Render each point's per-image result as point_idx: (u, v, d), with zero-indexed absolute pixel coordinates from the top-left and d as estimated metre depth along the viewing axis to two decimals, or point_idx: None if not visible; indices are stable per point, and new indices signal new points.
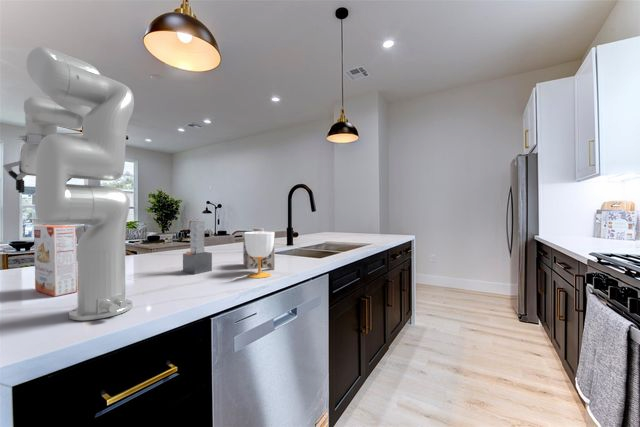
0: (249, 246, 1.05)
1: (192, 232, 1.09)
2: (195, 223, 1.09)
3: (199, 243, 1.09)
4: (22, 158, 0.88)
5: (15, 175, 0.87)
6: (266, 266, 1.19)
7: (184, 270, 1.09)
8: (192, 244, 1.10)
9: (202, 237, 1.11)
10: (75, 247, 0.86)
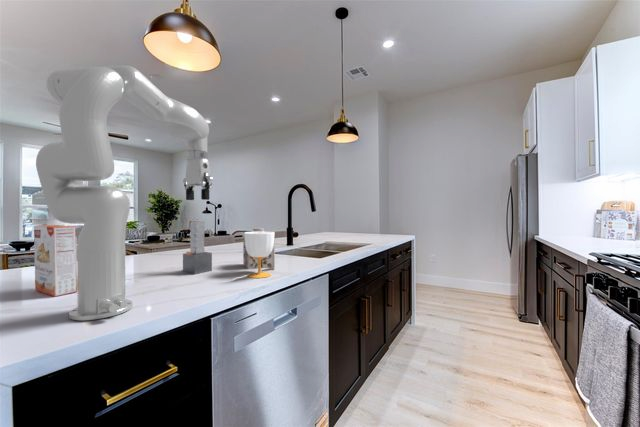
0: (249, 246, 1.05)
1: (192, 232, 1.09)
2: (195, 223, 1.09)
3: (199, 243, 1.09)
4: (209, 172, 1.10)
5: None
6: (266, 266, 1.19)
7: (184, 270, 1.09)
8: (192, 244, 1.10)
9: (202, 237, 1.11)
10: (75, 247, 0.86)
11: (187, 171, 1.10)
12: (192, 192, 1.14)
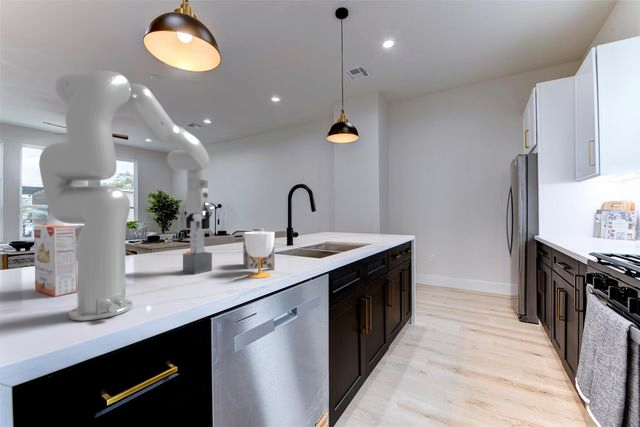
0: (249, 246, 1.05)
1: (192, 232, 1.09)
2: (195, 223, 1.09)
3: (199, 243, 1.09)
4: (209, 201, 1.10)
5: None
6: (266, 266, 1.19)
7: (184, 270, 1.09)
8: (192, 244, 1.10)
9: (202, 237, 1.11)
10: (75, 247, 0.86)
11: (187, 200, 1.10)
12: (192, 220, 1.14)
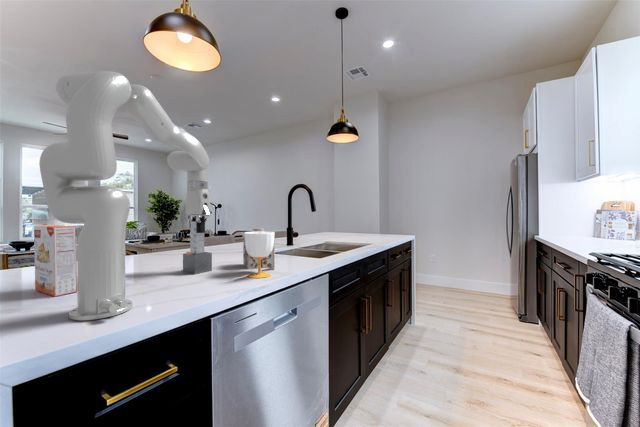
0: (249, 246, 1.05)
1: (192, 233, 1.09)
2: (195, 223, 1.09)
3: (199, 243, 1.09)
4: (209, 202, 1.10)
5: None
6: (266, 266, 1.19)
7: (184, 270, 1.09)
8: (192, 244, 1.10)
9: (202, 237, 1.11)
10: (75, 247, 0.86)
11: (187, 201, 1.10)
12: None
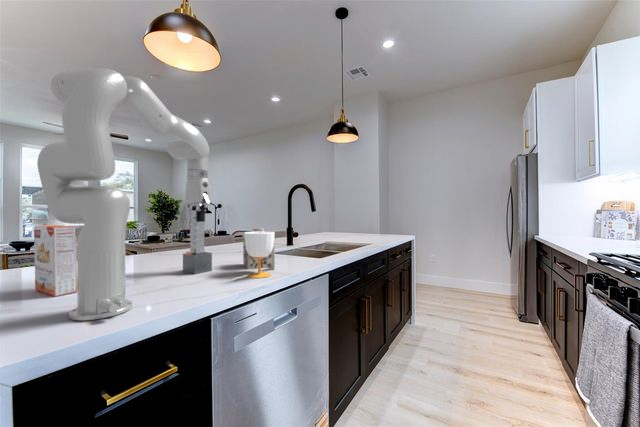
0: (249, 246, 1.05)
1: (192, 221, 1.09)
2: (195, 212, 1.08)
3: (199, 232, 1.09)
4: (209, 191, 1.10)
5: None
6: (266, 266, 1.19)
7: (184, 270, 1.09)
8: (192, 233, 1.09)
9: (202, 226, 1.11)
10: (75, 247, 0.86)
11: (187, 190, 1.10)
12: None
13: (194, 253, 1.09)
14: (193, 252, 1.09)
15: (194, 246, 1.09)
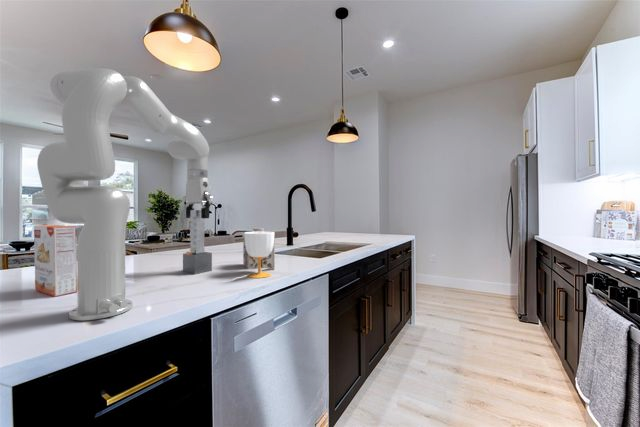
0: (249, 246, 1.05)
1: (192, 221, 1.09)
2: (195, 212, 1.08)
3: (199, 232, 1.09)
4: (209, 190, 1.10)
5: None
6: (266, 266, 1.19)
7: (184, 270, 1.09)
8: (192, 233, 1.09)
9: (202, 226, 1.11)
10: (75, 247, 0.86)
11: (187, 189, 1.10)
12: None
13: (194, 253, 1.09)
14: (193, 252, 1.09)
15: (194, 246, 1.09)
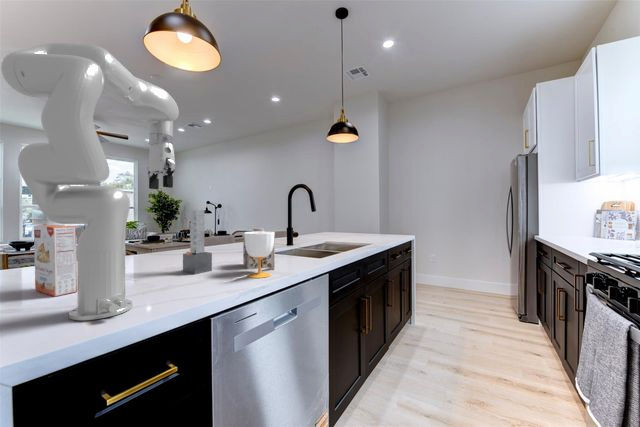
0: (249, 246, 1.05)
1: (192, 221, 1.09)
2: (195, 212, 1.08)
3: (199, 232, 1.09)
4: (173, 157, 1.00)
5: None
6: (266, 266, 1.19)
7: (184, 270, 1.09)
8: (192, 233, 1.09)
9: (202, 226, 1.11)
10: (75, 247, 0.86)
11: (150, 157, 1.01)
12: (156, 180, 1.04)
13: (194, 253, 1.09)
14: (193, 252, 1.09)
15: (194, 246, 1.09)
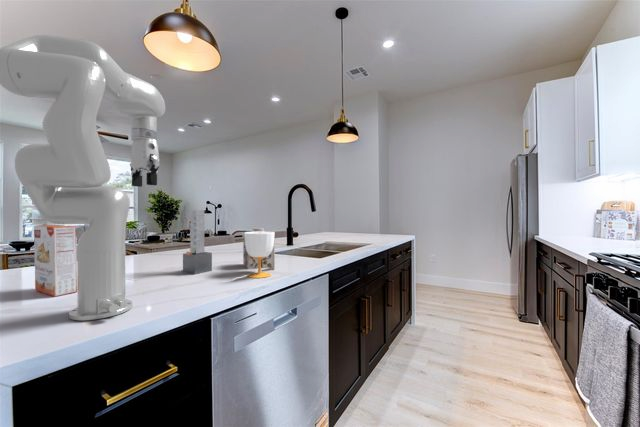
0: (249, 246, 1.05)
1: (192, 221, 1.09)
2: (195, 212, 1.08)
3: (199, 232, 1.09)
4: (157, 154, 0.96)
5: None
6: (266, 266, 1.19)
7: (184, 270, 1.09)
8: (192, 233, 1.09)
9: (202, 226, 1.11)
10: (75, 247, 0.86)
11: (132, 153, 0.97)
12: (140, 177, 1.00)
13: (194, 253, 1.09)
14: (193, 252, 1.09)
15: (194, 246, 1.09)
